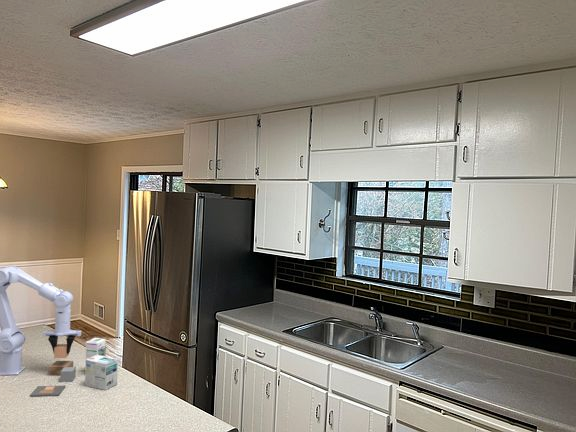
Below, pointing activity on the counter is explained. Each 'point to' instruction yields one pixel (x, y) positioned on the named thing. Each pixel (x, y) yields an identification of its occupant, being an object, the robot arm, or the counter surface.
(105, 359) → the light bulb box
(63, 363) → the walnut block
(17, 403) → the counter surface
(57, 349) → the terracotta block
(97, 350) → the syrup box
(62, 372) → the slate-grey block
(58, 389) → the card
